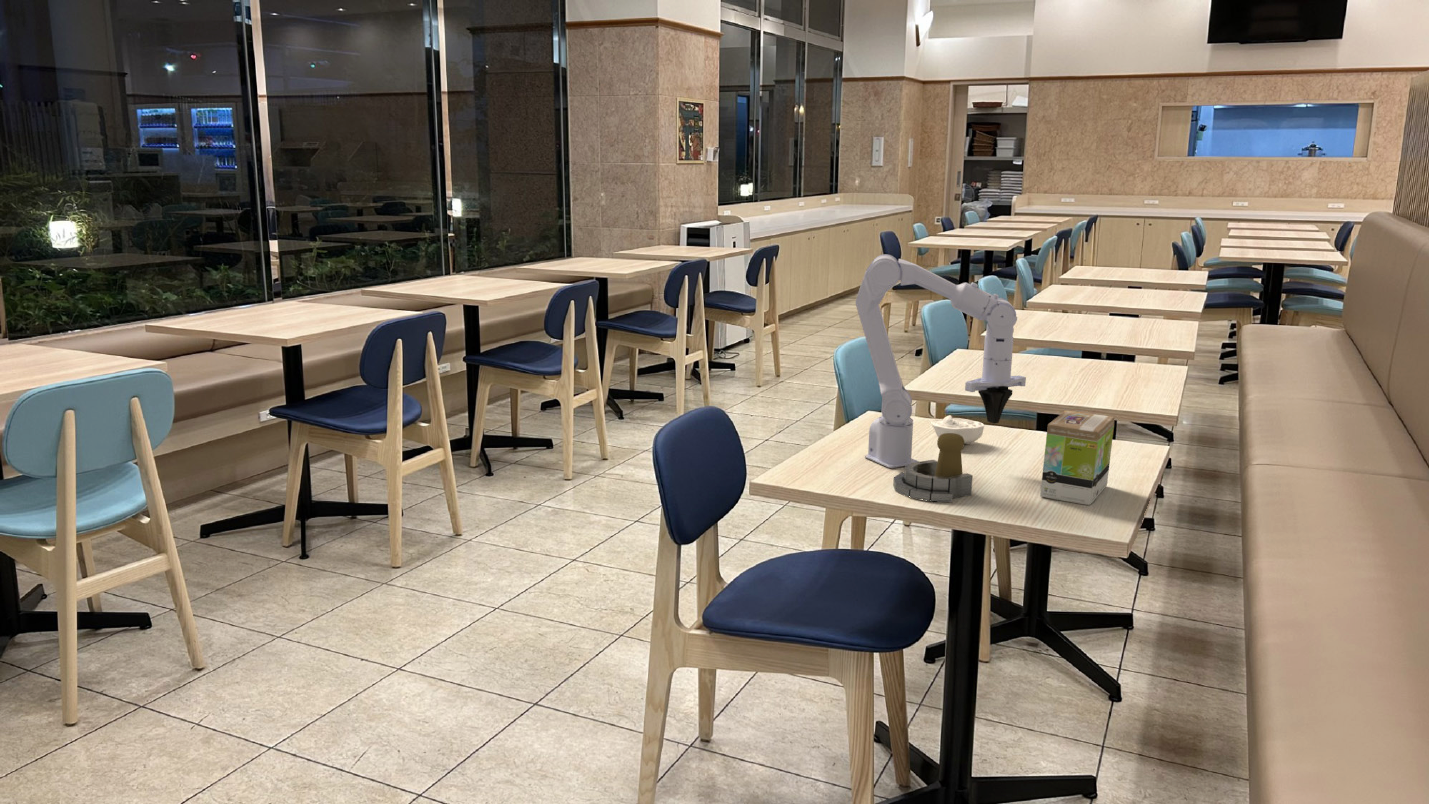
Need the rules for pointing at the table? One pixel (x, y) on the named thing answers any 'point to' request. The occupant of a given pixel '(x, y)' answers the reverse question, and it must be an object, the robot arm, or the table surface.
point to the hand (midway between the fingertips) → (993, 422)
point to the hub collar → (931, 483)
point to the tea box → (1077, 457)
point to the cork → (949, 455)
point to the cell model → (959, 428)
